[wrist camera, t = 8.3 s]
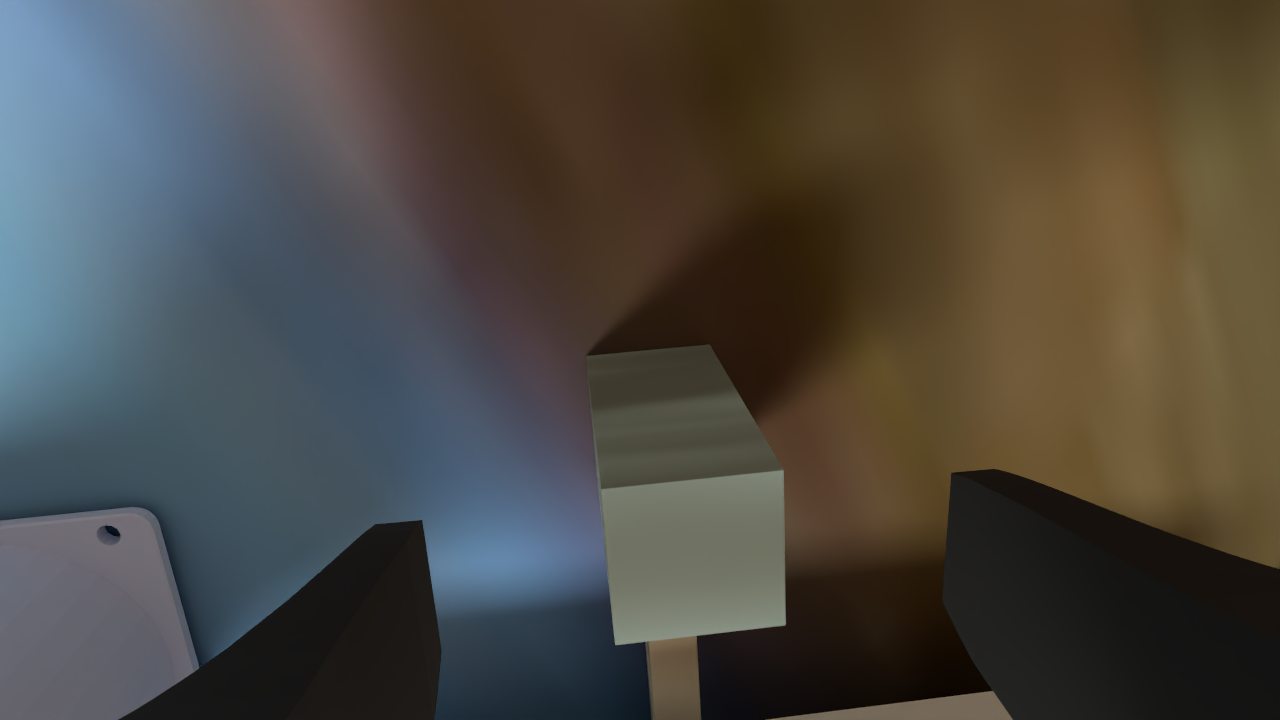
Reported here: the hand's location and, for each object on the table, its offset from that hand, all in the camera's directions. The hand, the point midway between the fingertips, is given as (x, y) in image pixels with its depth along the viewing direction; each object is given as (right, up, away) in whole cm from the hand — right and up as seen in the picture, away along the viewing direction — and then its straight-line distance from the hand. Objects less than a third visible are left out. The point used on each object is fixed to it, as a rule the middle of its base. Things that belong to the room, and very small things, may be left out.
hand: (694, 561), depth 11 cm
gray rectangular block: (0, -7, +12) cm, 14 cm away
